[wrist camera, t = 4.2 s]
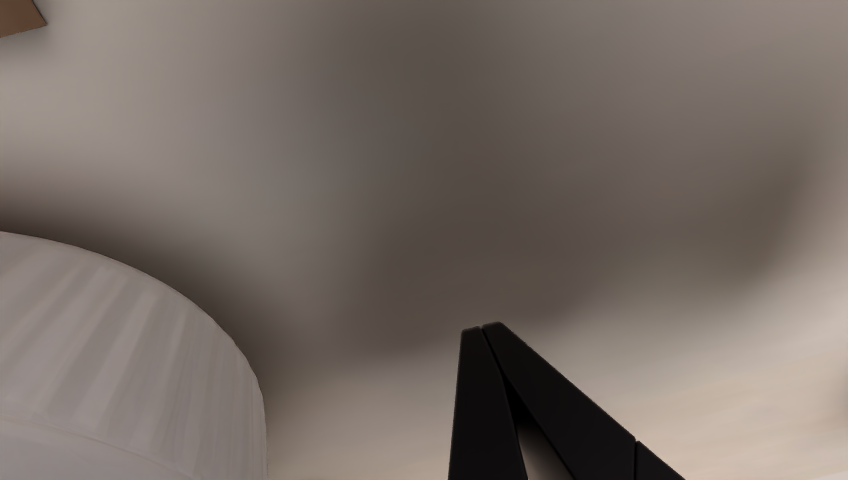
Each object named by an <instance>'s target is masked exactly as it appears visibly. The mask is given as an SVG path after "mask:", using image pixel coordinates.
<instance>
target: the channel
mask: <svg viewBox="0 0 848 480" xmlns="http://www.w3.org/2000/svg"><path fill="white" fill-rule="evenodd" d="M42 26H46V24H45V22H44V20H43V19H42V17H41V16H40V14H39V12H38V11H37V9H36V7H35V6H34V4H33V2H32V1H31V0H0V37H4V36H8V35H12V34H16V33H19V32H23V31H27V30H31V29H34V28H38V27H42Z"/></svg>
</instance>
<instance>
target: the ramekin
mask: <svg viewBox="0 0 848 480" xmlns="http://www.w3.org/2000/svg"><path fill="white" fill-rule="evenodd" d="M0 480H268V465H267V440H266V422H265V413H264V400H263V396H262V393H261V391H260V389H259V385H258V380H257V378H256V376H255V374H254V372H253V371H252V369H251V367H250V365H249V363H248V361H247V359H246V357H245V356H244V354H243V353H242V352H241V351H240V350H239V348H238V347H237V346H236V344H235V342H234V341H233V339H232V338H231V337H230V336H229V335H228V334H226V333H225V332H224V331H223V330H222V329H221V327H220V326H219V325H218V324H217V323H216V322H215V321H214V320H213V319H212V318H211V317H210V316H209V315H208V314H207V313H205V312H204V311H203V310H202V309H201V308H200V307H198V306H197V305H196V304H195V303H193V302H192V301H191V300H189V299H188V298H187V297H185V296H184V295H182V294H181V293H179V292H178V291H176V290H175V289H173V288H172V287H170V286H168V285H167V284H165V283H163V282H161V281H159V280H158V279H156V278H154V277H152V276H150V275H148V274H146V273H144V272H142V271H140V270H138V269H136V268H133V267H131V266H129V265H127V264H124V263H122V262H120V261H117V260H114V259H112V258H109V257H106V256H104V255H101V254H99V253H95V252H92V251H89V250H86V249H83V248H80V247H76V246H73V245H69V244H65V243H61V242H57V241H53V240H48V239H44V238H39V237H34V236H28V235H21V234H15V233H8V232H3V231H0Z"/></svg>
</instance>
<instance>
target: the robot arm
mask: <svg viewBox="0 0 848 480" xmlns="http://www.w3.org/2000/svg"><path fill="white" fill-rule="evenodd" d="M528 478H529V480H685V479H684V478H683V477H682V476H681V475H679V474H678V473H677V472H676V471H674V470H673V469H672V468H671V467H670V466H668V465H667V464H666V463H665V462H663V461H662V460H661V459H660V458H659V457H657V456H656V455H655V454H654V453H653V452H652V451H651V450H649V449H648V448H647V447H646V446H645V445H644V444H642V443H641V442H640V441H636V439H635V437H634V436H633V435H632V434H631V433H629V432H628V431H627V430H626V429H625V428H624V427H622V426H621V425H620V424H619V423H618V422H617V421H615V420H614V419H613V418H612V417H611V416H610V415H608V414H607V413H606V412H605V411H604V410H603V409H602V408H600V407H599V406H598V405H597V404H596V403H595V402H593V401H592V400H591V399H590V398H589V397H588V396H586V395H585V394H584V393H583V392H582V391H581V390H579V389H578V388H577V387H576V386H575V385H574V384H572V383H571V382H570V381H569V380H568V379H567V378H565V377H564V376H563V375H562V374H561V373H560V372H559V371H557V370H556V369H555V368H554V367H553V366H552V365H550V364H549V363H548V362H547V361H546V360H545V359H543V358H542V357H541V356H540V355H539V354H538V353H536V352H535V351H534V350H533V349H532V348H531V347H529V346H528V345H527V344H526V343H525V342H524V341H522V340H521V339H520V338H519V337H518V336H517V335H516V334H514V333H513V332H512V331H511V330H510V329H509V328H507V327H506V326H505V325H504V324H503V323H501V322H493V323H489V324H485V325H483V326H482V327H481V328H480V327H479V326H476V327H472V328H468V329H464V330H463V331H462V333H461V342H460V353H459V364H458V374H457V385H456V396H455V407H454V418H453V429H452V440H451V451H450V462H449V473H448V480H528Z"/></svg>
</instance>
